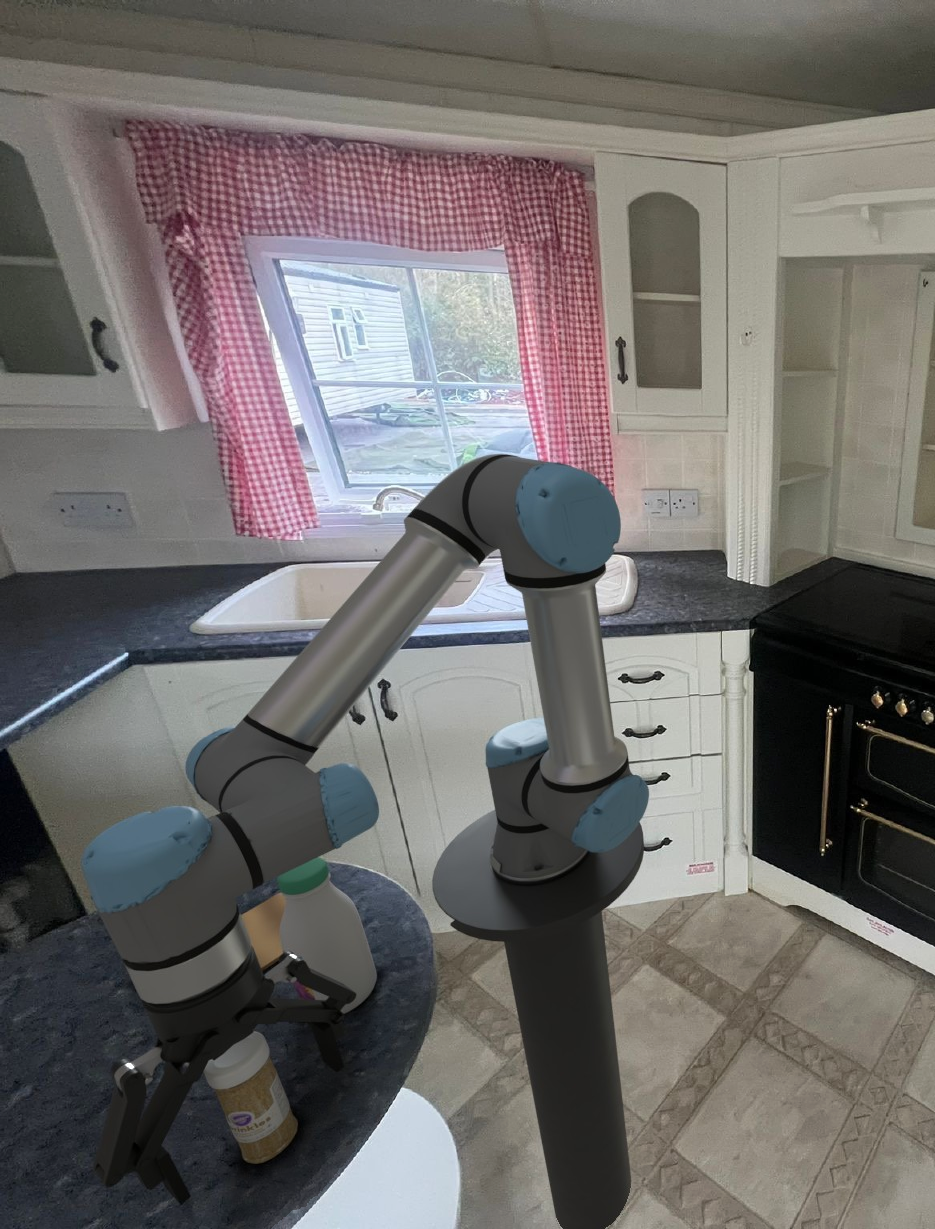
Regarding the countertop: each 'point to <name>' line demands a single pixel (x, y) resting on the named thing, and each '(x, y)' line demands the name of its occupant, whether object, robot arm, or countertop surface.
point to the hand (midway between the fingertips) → (263, 1123)
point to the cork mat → (266, 929)
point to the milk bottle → (325, 931)
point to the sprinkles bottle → (253, 1099)
